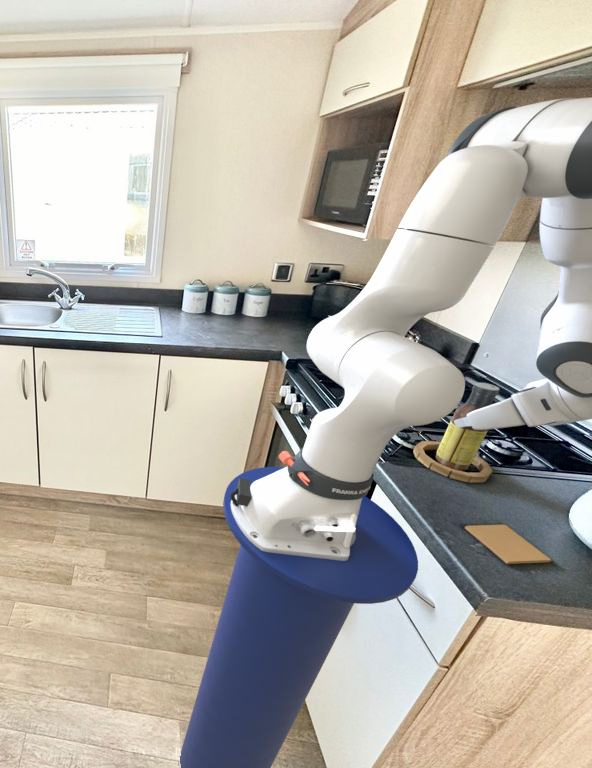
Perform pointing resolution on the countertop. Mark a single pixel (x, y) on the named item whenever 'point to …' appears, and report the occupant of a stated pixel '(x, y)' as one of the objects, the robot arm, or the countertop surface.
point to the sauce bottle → (465, 430)
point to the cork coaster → (507, 544)
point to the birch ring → (446, 471)
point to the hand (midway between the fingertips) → (469, 419)
